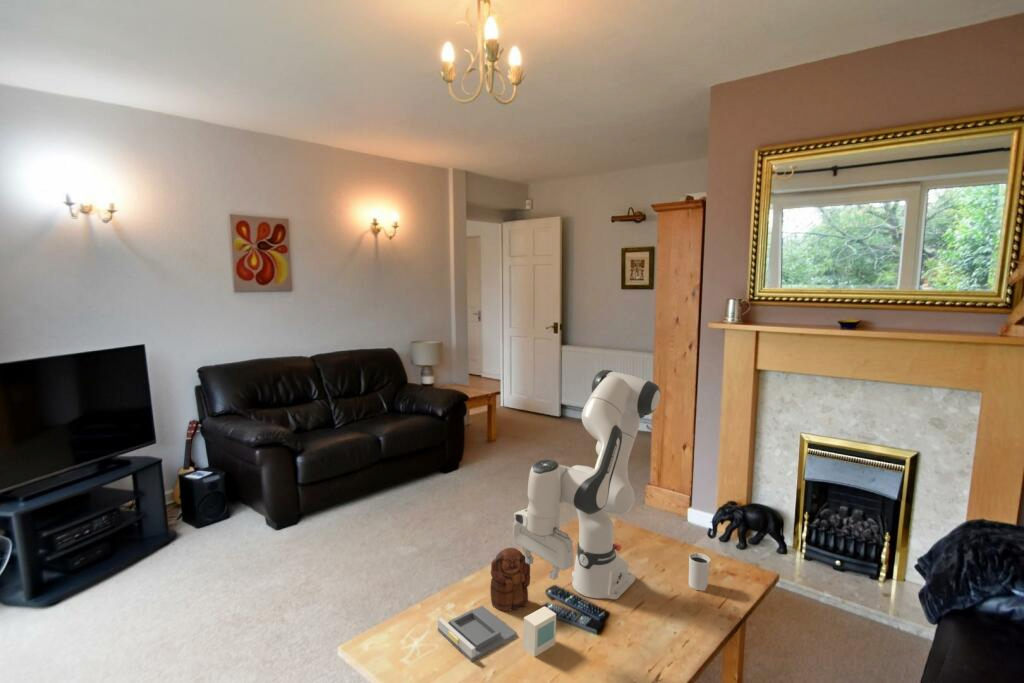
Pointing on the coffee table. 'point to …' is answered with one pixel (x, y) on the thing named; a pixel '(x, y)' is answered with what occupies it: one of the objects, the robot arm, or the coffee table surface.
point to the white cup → (698, 570)
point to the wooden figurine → (509, 580)
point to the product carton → (539, 631)
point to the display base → (476, 632)
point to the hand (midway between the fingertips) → (541, 570)
